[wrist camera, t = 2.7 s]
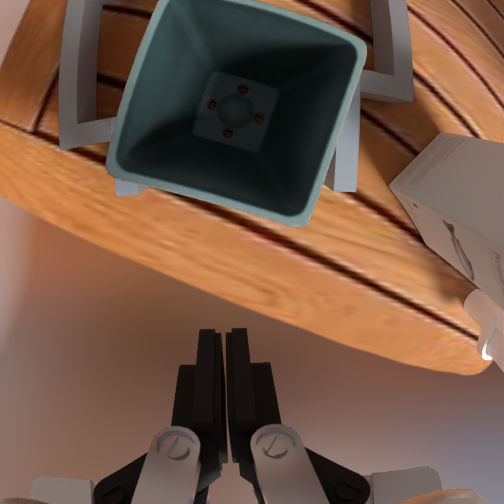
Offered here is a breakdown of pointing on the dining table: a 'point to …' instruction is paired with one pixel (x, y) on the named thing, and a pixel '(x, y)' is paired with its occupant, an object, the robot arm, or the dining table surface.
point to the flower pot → (236, 106)
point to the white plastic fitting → (487, 325)
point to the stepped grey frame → (100, 131)
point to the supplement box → (460, 206)
